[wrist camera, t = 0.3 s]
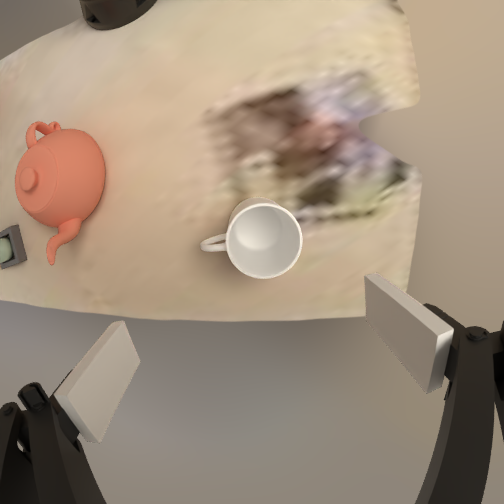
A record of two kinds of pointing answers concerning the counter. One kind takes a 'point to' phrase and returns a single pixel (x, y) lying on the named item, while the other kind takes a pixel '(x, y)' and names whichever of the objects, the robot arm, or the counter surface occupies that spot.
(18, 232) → the button base
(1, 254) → the button
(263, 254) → the mug
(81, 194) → the teapot
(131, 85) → the counter surface
